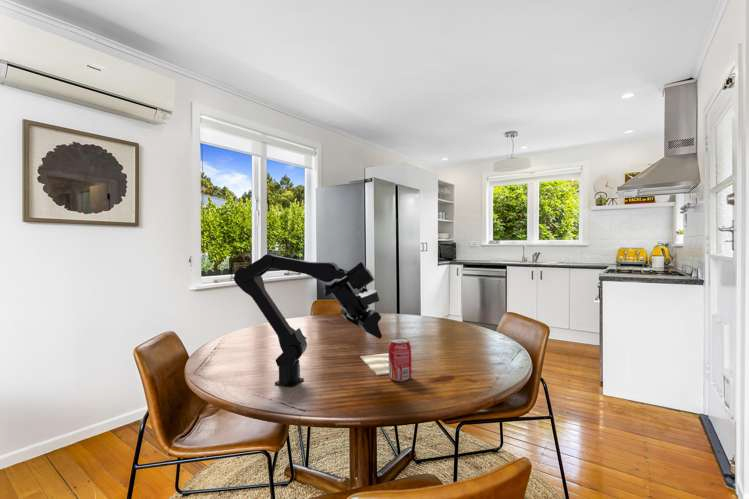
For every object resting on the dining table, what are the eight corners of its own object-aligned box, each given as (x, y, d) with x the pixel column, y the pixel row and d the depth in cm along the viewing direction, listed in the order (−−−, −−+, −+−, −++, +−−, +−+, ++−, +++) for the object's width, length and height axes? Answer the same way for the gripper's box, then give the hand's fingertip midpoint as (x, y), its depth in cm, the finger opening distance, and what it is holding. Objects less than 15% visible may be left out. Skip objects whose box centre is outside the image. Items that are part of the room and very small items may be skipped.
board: (411, 371, 123) (411, 369, 123) (377, 375, 119) (377, 373, 119) (390, 354, 142) (390, 353, 142) (360, 357, 138) (360, 356, 138)
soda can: (397, 373, 122) (397, 336, 122) (415, 377, 117) (415, 339, 117) (384, 379, 116) (383, 340, 116) (402, 384, 112) (402, 344, 112)
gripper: (379, 285, 108) (406, 323, 113) (354, 276, 125) (379, 310, 130) (351, 311, 105) (380, 349, 110) (328, 298, 122) (355, 332, 127)
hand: (374, 333), depth 119 cm, fingers open, 9 cm apart
